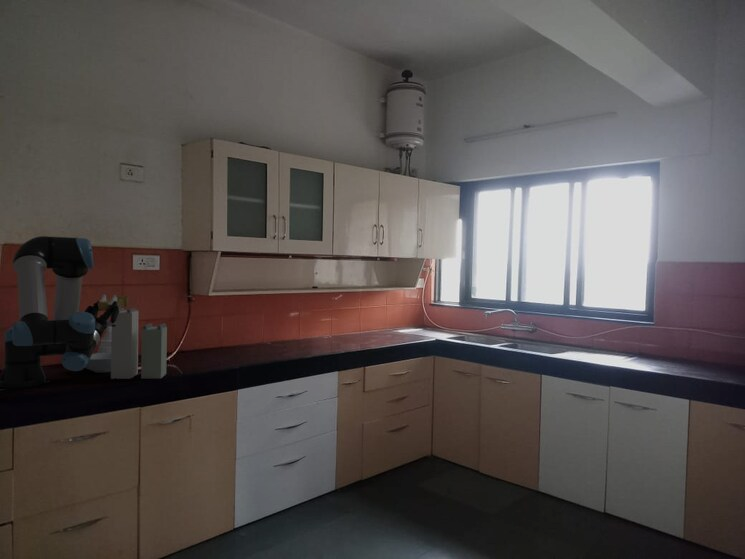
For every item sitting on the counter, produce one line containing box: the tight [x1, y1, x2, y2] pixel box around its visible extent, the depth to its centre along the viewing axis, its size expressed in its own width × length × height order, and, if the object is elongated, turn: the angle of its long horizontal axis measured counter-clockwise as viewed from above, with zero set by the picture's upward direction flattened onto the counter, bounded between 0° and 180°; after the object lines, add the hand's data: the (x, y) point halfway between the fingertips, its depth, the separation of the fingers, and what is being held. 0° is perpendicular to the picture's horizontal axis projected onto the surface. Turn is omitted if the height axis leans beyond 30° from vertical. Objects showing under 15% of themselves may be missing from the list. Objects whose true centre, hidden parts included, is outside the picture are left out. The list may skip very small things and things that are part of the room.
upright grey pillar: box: [140, 322, 168, 380], centre depth 217 cm, size 8×9×22 cm
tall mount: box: [110, 307, 140, 380], centre depth 215 cm, size 8×9×29 cm
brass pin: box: [98, 295, 130, 312], centre depth 199 cm, size 4×23×4 cm, turn 9°
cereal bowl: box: [84, 352, 111, 374], centre depth 224 cm, size 17×17×7 cm
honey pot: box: [96, 326, 112, 353], centre depth 238 cm, size 13×13×18 cm
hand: (110, 297), depth 196 cm, fingers closed on brass pin, 3 cm apart
